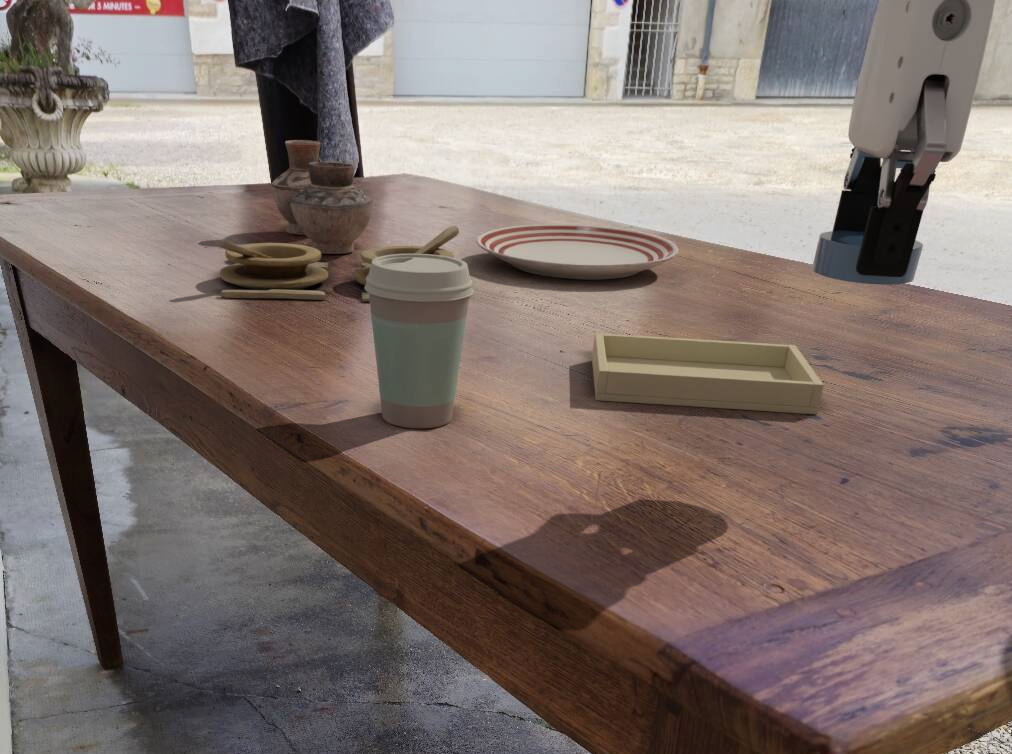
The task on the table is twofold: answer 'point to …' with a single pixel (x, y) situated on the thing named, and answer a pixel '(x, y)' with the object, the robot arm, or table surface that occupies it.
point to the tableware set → (301, 267)
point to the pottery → (321, 199)
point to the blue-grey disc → (854, 259)
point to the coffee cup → (418, 334)
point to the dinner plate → (577, 250)
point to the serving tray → (704, 374)
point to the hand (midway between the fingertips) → (865, 261)
